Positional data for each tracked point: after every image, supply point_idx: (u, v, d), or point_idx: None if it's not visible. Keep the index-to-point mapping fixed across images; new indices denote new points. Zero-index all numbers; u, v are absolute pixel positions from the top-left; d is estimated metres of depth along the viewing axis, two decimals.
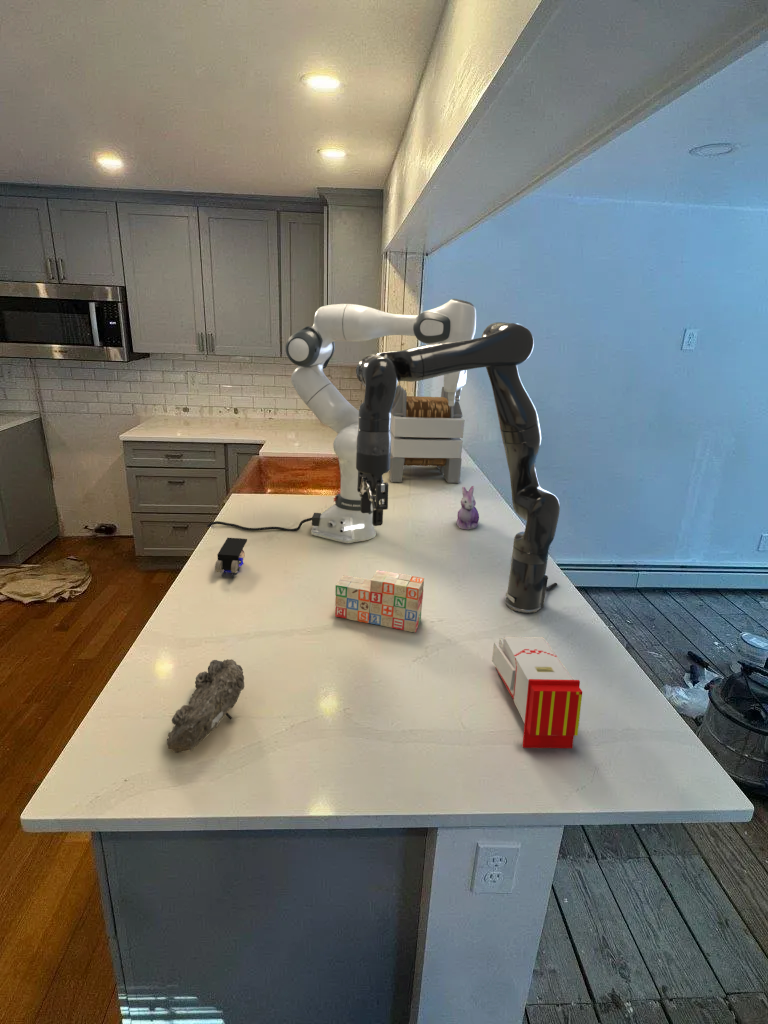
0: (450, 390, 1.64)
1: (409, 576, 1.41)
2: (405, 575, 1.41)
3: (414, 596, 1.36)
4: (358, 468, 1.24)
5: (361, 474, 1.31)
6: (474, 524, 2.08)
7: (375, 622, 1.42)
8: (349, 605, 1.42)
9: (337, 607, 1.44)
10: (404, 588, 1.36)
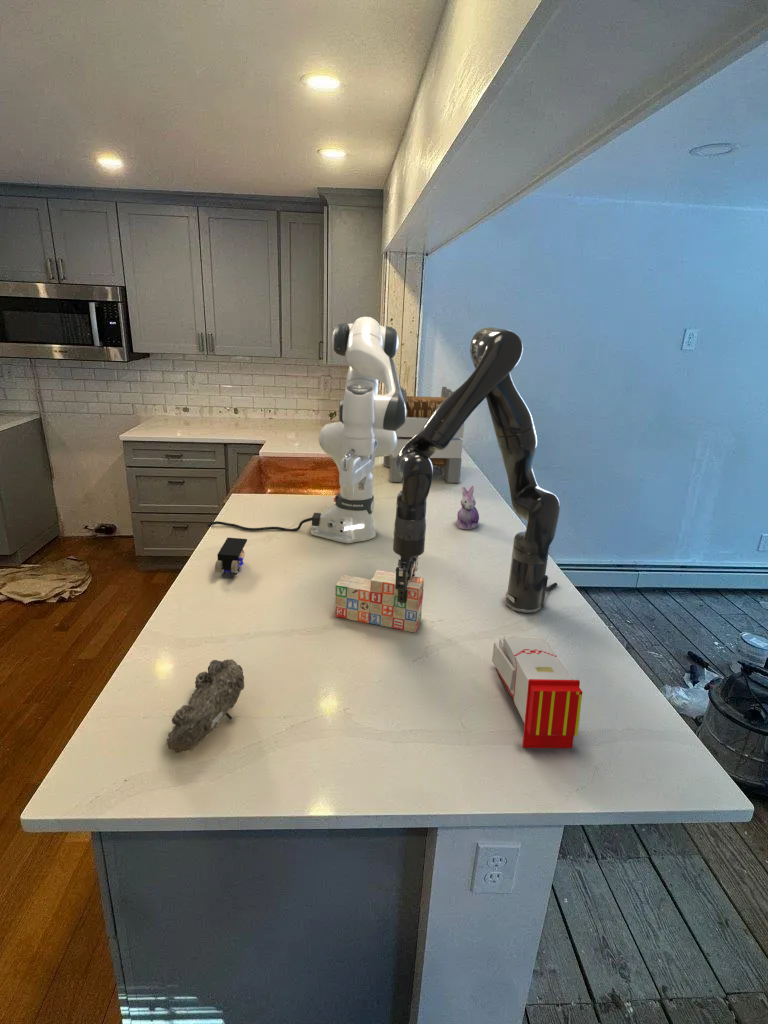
0: None
1: None
2: None
3: (414, 596, 1.36)
4: None
5: None
6: (474, 524, 2.08)
7: (375, 622, 1.42)
8: (349, 605, 1.42)
9: (337, 607, 1.44)
10: None
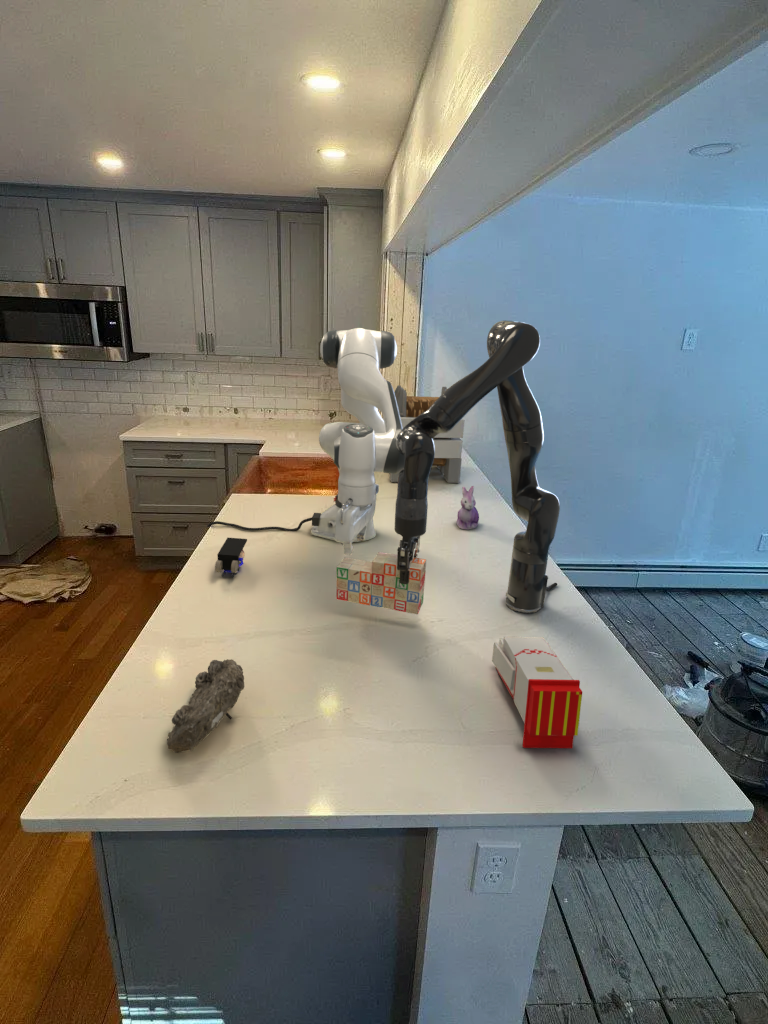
0: None
1: None
2: None
3: (416, 577, 1.35)
4: None
5: None
6: (474, 524, 2.08)
7: (377, 604, 1.40)
8: (351, 587, 1.41)
9: (338, 590, 1.42)
10: None
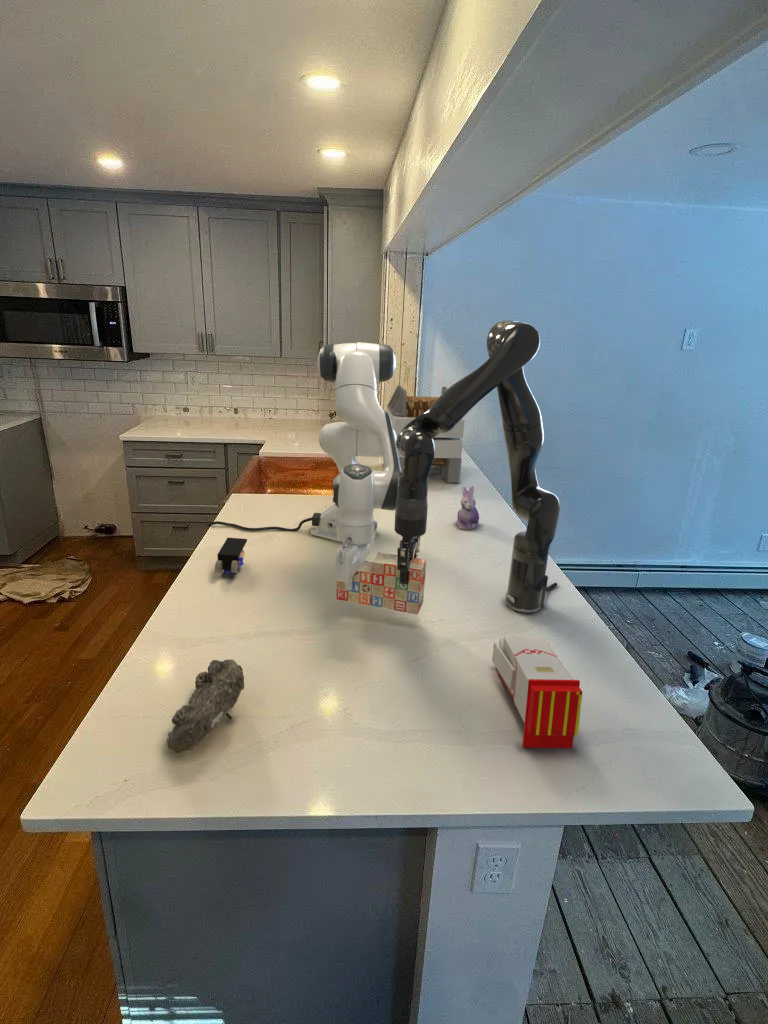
0: None
1: None
2: None
3: (416, 577, 1.34)
4: None
5: None
6: (474, 524, 2.08)
7: (377, 605, 1.40)
8: None
9: (338, 590, 1.42)
10: None
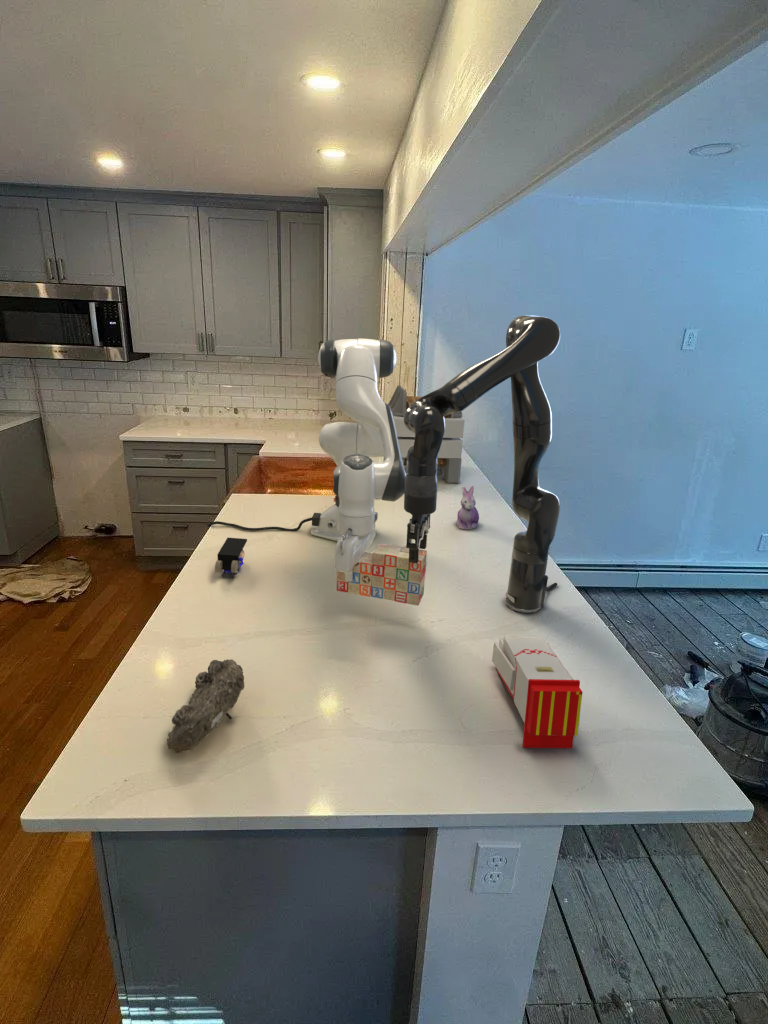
0: None
1: None
2: (407, 548, 1.39)
3: (417, 568, 1.34)
4: None
5: None
6: (474, 524, 2.08)
7: (377, 596, 1.40)
8: None
9: (338, 581, 1.41)
10: (406, 560, 1.34)
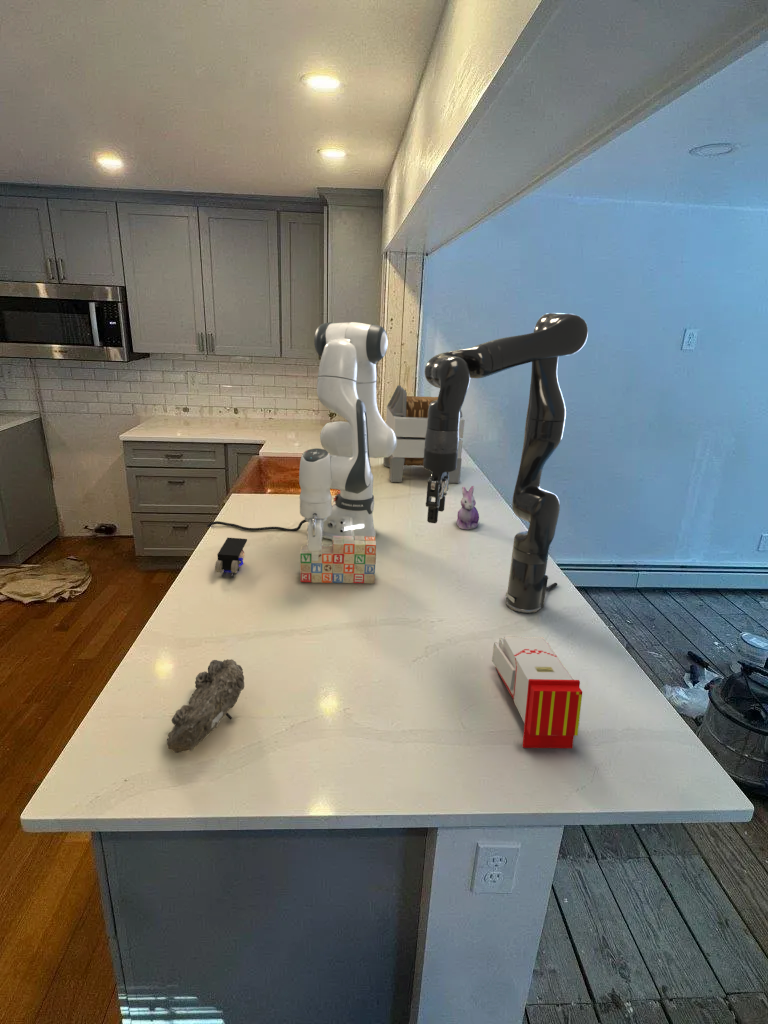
0: None
1: (362, 536, 1.64)
2: (359, 536, 1.64)
3: (372, 551, 1.60)
4: (423, 464, 1.27)
5: None
6: (474, 524, 2.08)
7: (338, 580, 1.62)
8: (314, 569, 1.61)
9: (302, 573, 1.61)
10: (363, 546, 1.59)
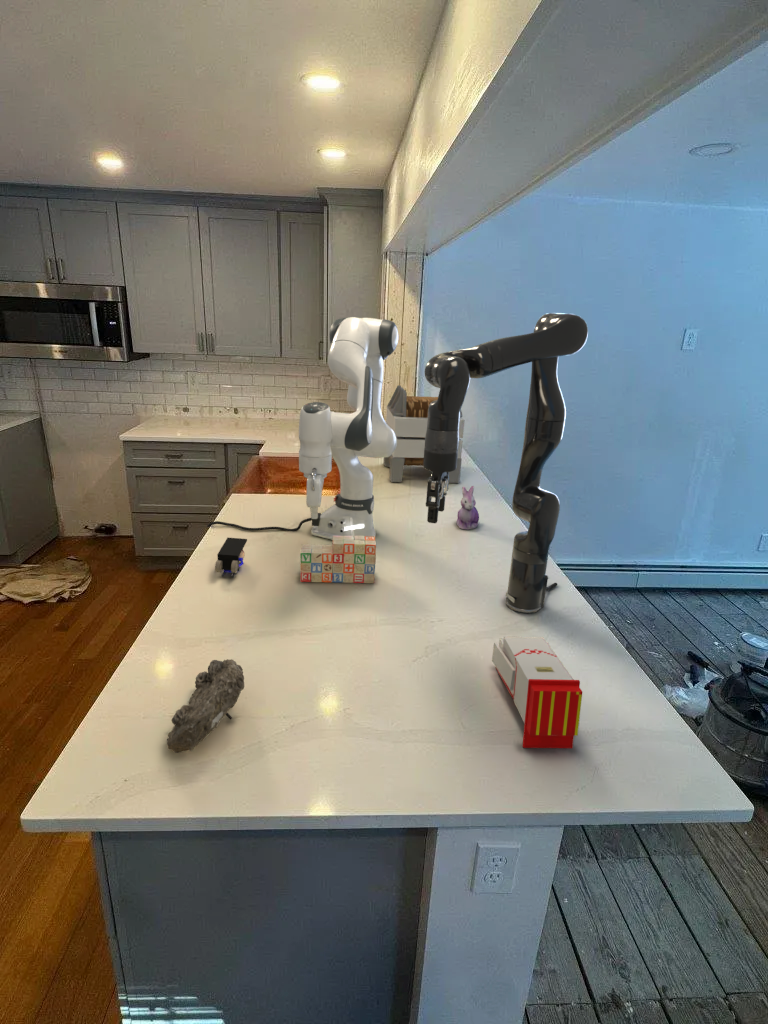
0: None
1: (362, 536, 1.64)
2: (359, 536, 1.64)
3: (372, 551, 1.60)
4: (423, 464, 1.27)
5: None
6: (474, 524, 2.08)
7: (338, 580, 1.62)
8: (314, 569, 1.61)
9: (302, 573, 1.61)
10: (363, 546, 1.59)
